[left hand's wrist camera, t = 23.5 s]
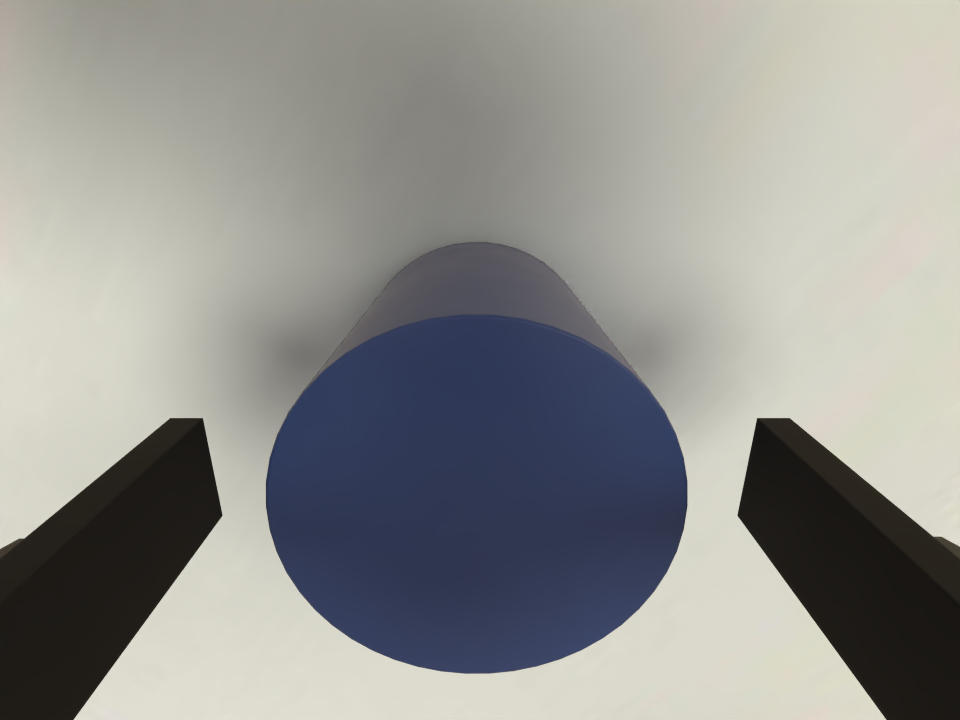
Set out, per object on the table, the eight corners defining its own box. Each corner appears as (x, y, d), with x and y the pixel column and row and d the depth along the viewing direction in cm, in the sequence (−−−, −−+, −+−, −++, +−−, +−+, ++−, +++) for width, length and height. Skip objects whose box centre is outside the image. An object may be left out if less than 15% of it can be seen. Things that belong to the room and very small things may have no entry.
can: (353, 433, 23) (253, 645, 13) (381, 220, 20) (280, 272, 10) (558, 469, 23) (620, 698, 13) (615, 267, 20) (752, 363, 10)
